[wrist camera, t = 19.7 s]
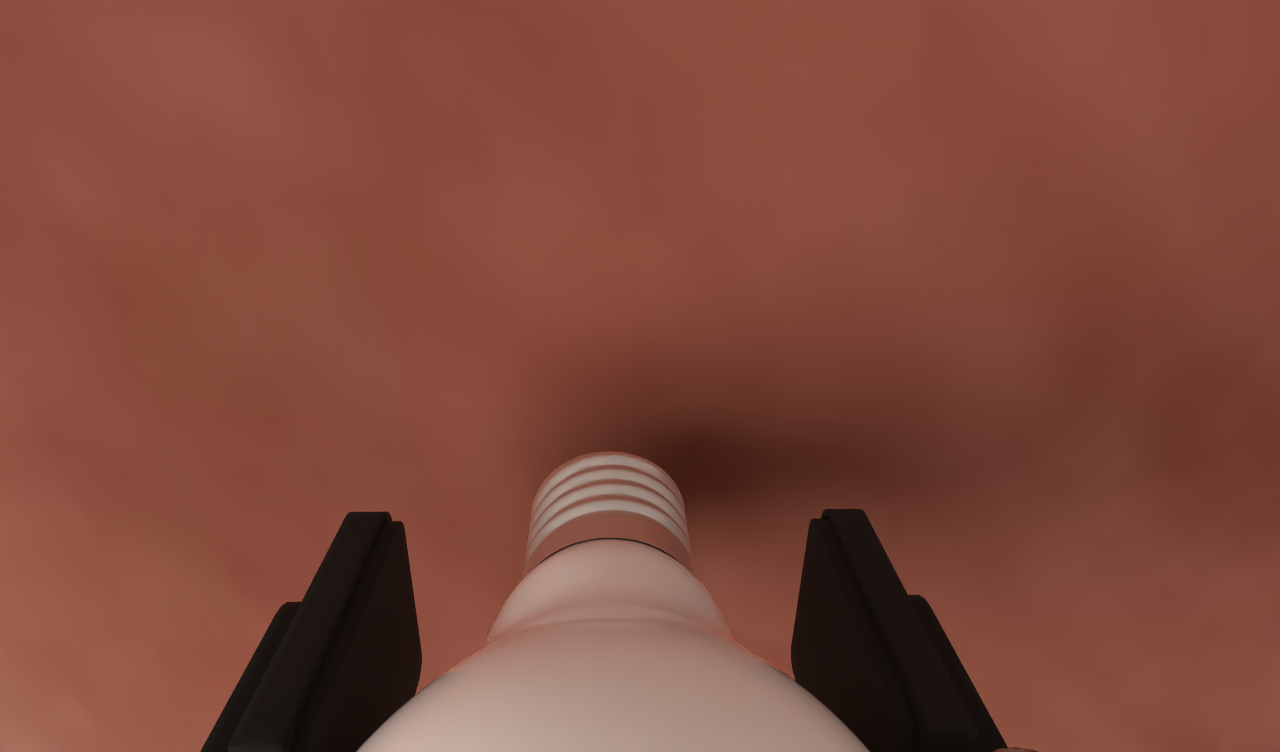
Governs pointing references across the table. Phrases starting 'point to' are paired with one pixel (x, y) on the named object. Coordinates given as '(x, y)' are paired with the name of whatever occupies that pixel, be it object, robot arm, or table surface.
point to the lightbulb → (611, 642)
